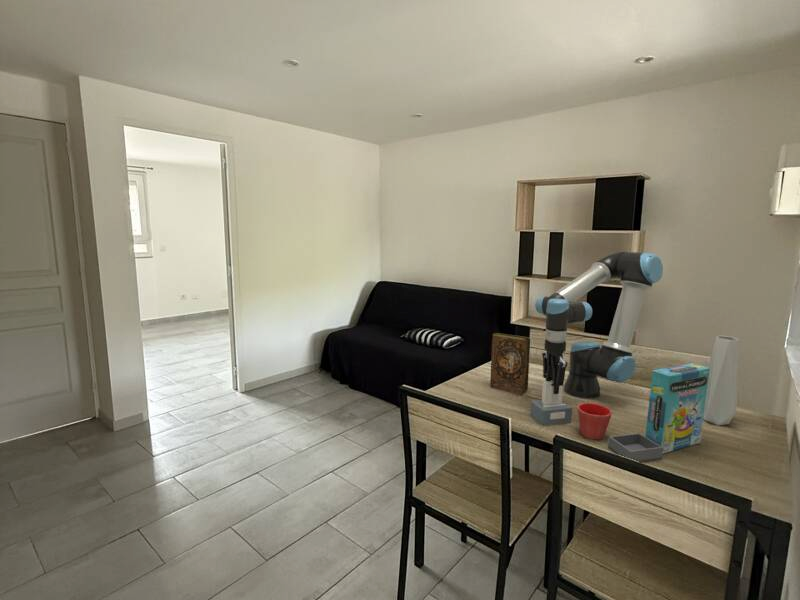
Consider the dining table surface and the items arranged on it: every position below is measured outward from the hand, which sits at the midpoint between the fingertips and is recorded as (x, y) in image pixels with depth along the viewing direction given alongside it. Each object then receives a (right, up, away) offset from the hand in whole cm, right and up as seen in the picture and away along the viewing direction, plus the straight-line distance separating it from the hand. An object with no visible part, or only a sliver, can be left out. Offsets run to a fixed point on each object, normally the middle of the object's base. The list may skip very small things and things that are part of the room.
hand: (551, 399), depth 162 cm
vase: (+63, -8, 0) cm, 63 cm away
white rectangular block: (0, -5, +1) cm, 5 cm away
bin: (+19, -12, -23) cm, 32 cm away
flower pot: (+11, -10, -11) cm, 18 cm away
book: (-9, -3, +31) cm, 33 cm away
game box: (+35, -11, -18) cm, 41 cm away
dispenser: (0, -8, +1) cm, 8 cm away
